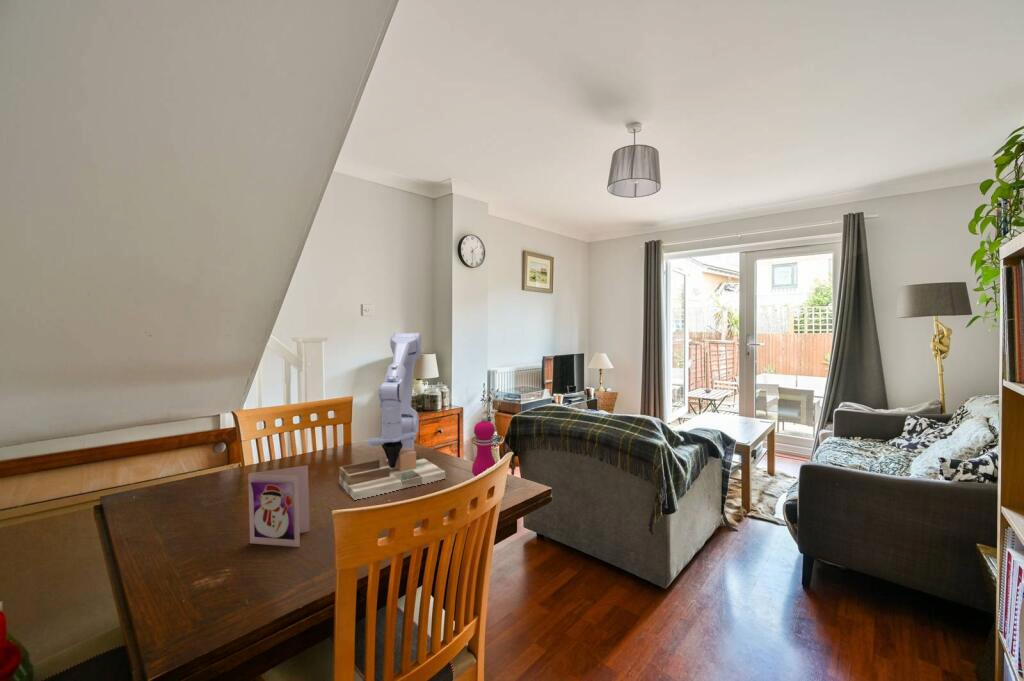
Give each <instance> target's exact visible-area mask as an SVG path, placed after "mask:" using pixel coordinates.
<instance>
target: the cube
mask: <svg viewBox="0 0 1024 681" xmlns="http://www.w3.org/2000/svg"><path fill="white" fill-rule="evenodd" d="M416 460H417V451H416V450H415V449H414V450H412V449H411V448H408V449H402V450H400V452H399V454H398V457H397V461H396V465H395V468H397V469H398V470H399V471H405V470H410V469H415V468H416Z"/></svg>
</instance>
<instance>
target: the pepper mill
mask: <svg viewBox="0 0 1024 681" xmlns="http://www.w3.org/2000/svg"><path fill="white" fill-rule="evenodd" d="M480 419H481V421H478V422H477V423H475V425H474V428H473V433H474V435H475V436H476V437H475V444H476V445H477V451H476V452H477V453H476V456H475V458H474V460H473V463H472V466H471V473H472V474H473V476H474V477H475V476H477V475H478V474H480V473H482V472H483V471H485V470H486V469H487V468H489V467H491V466H493V465H494V464H495V463H496V462H497V461H496V460H495V458H494V456H493V453H492V444H493V443H494V438H493V436H494V435H495V432H496V431H495V430H496V429H495V426H494V424H493V423H492V422H491V421H488V416H486V415H483V416H481V417H480ZM496 464H497V463H496Z"/></svg>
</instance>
